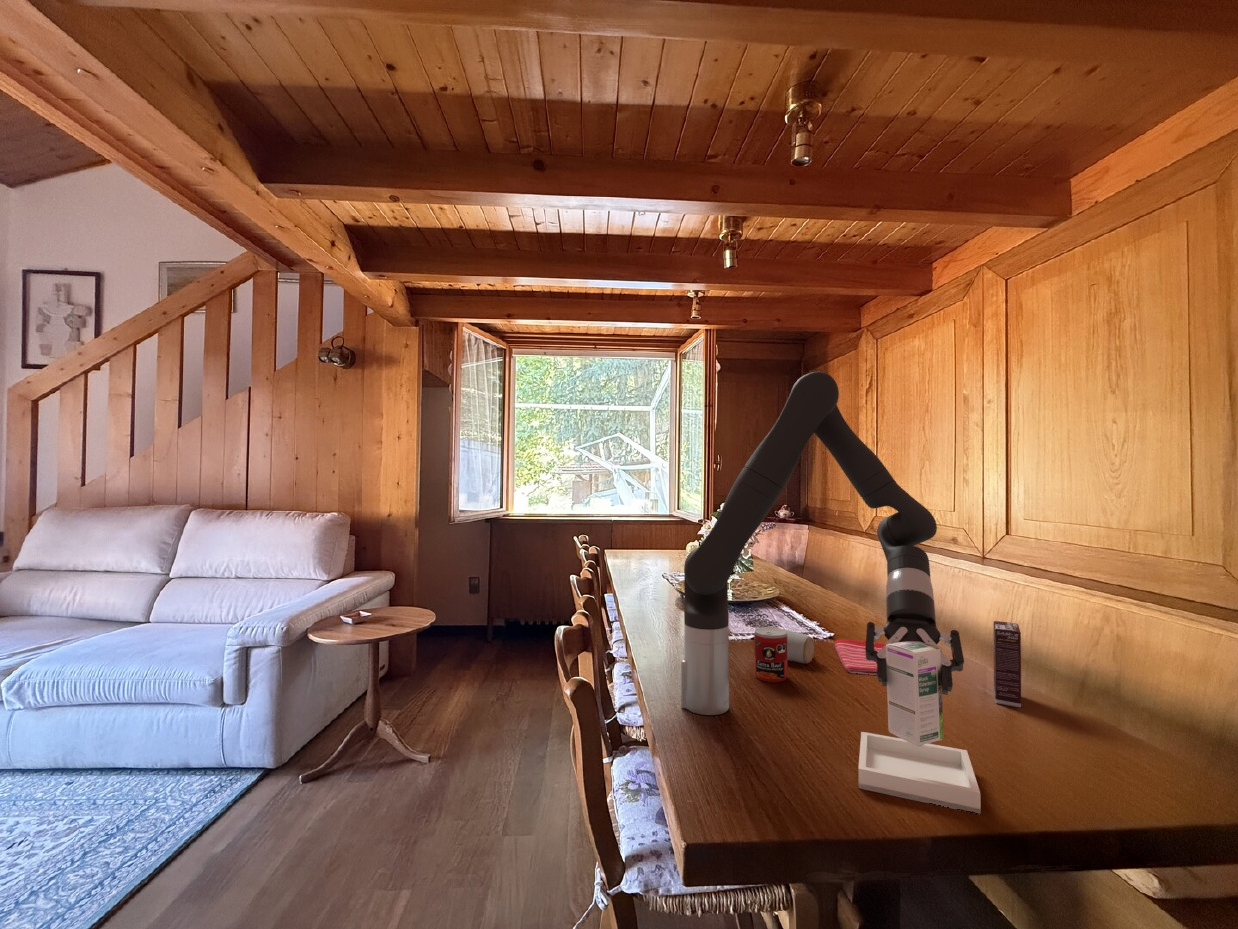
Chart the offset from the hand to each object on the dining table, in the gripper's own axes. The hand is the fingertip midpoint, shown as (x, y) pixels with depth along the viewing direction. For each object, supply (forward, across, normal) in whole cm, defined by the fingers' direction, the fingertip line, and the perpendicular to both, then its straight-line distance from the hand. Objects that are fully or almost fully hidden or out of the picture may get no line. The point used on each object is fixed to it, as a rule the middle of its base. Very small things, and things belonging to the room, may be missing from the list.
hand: (914, 688), depth 88 cm
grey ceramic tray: (+9, 0, +12) cm, 15 cm away
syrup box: (+5, 0, +7) cm, 9 cm away
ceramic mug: (-28, -26, +50) cm, 63 cm away
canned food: (-17, -29, +38) cm, 51 cm away
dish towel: (-33, -7, +56) cm, 65 cm away
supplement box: (-22, +20, +44) cm, 53 cm away
